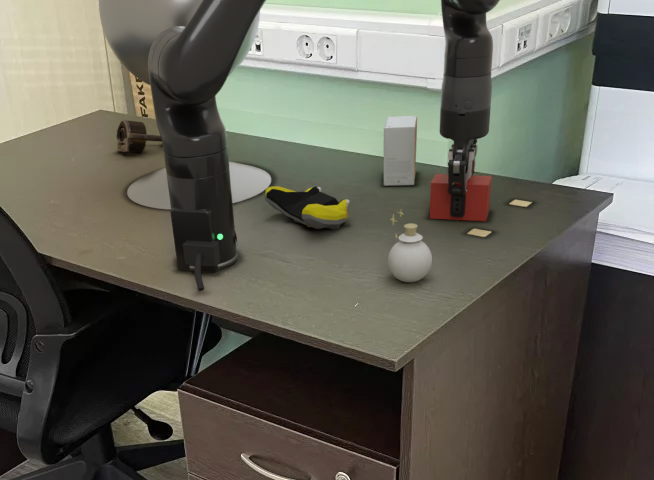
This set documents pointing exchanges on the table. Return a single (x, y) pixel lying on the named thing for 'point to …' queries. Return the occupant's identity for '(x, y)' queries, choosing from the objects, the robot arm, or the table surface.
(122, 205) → the table surface
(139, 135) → the mechanical counter
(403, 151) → the small box
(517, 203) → the edge tape marks
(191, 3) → the desk lamp
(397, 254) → the white potion bottle
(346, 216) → the black yellow shoe-shaped piece
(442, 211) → the block
